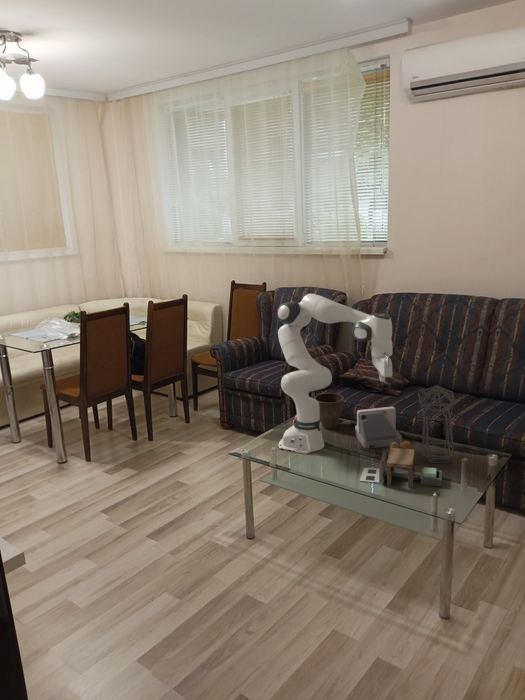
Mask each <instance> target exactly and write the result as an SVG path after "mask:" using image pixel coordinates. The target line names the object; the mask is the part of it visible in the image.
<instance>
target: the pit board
mask: <svg viewBox="0 0 525 700" xmlns="http://www.w3.org/2000/svg"><path fill="white" fill-rule="evenodd" d="M360 481H368V482H377V483H376V484H378V483H379V484H380V482H379V468H373V467H372V468H371V467H363V469H362V473H361V475H360V479H359V482H360Z"/></svg>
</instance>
